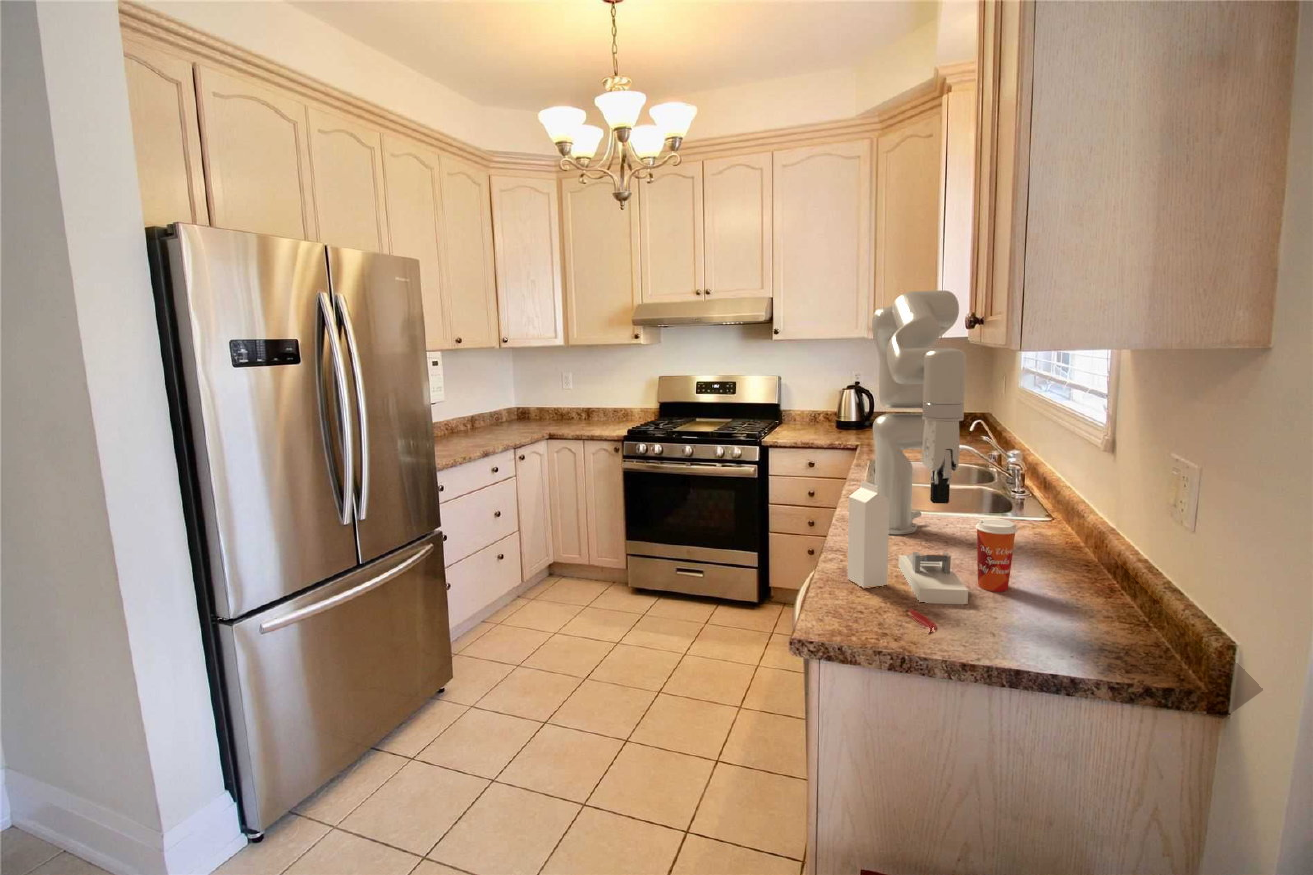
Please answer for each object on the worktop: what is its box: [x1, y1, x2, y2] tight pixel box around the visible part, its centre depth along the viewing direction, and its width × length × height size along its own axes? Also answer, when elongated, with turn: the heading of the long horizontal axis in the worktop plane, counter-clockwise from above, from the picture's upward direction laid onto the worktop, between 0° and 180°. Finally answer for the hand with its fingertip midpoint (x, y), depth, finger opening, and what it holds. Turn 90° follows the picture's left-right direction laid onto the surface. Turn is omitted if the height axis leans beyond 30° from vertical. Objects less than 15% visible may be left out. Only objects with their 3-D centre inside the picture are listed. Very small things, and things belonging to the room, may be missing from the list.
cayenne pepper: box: [909, 608, 938, 634], centre depth 122 cm, size 12×5×2 cm, turn 165°
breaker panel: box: [897, 551, 969, 605], centre depth 139 cm, size 20×9×7 cm, turn 171°
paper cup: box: [974, 517, 1018, 593], centre depth 136 cm, size 8×8×14 cm
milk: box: [846, 480, 890, 587], centre depth 139 cm, size 6×6×22 cm
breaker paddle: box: [920, 554, 948, 562], centre depth 138 cm, size 9×4×1 cm, turn 171°
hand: (939, 502), depth 132 cm, fingers closed
